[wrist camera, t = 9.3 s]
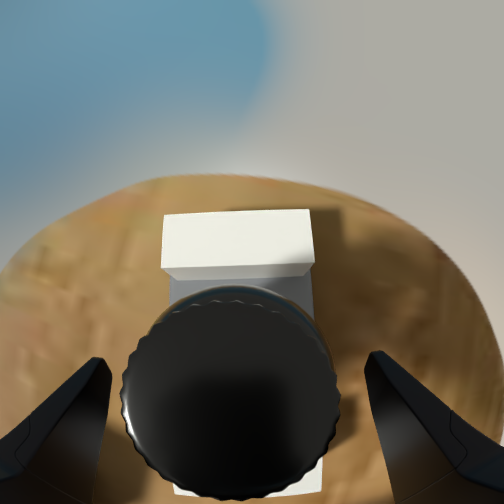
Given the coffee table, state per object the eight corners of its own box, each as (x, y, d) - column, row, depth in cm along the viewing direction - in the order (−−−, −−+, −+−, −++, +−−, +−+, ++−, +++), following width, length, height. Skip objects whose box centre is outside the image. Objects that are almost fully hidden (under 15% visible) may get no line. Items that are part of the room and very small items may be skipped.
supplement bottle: (246, 434, 15) (240, 564, 4) (164, 363, 16) (35, 393, 5) (320, 354, 17) (434, 378, 5) (236, 284, 18) (210, 189, 6)
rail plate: (315, 462, 15) (329, 489, 11) (181, 466, 15) (166, 492, 11) (305, 234, 19) (317, 208, 16) (173, 239, 19) (155, 215, 15)
